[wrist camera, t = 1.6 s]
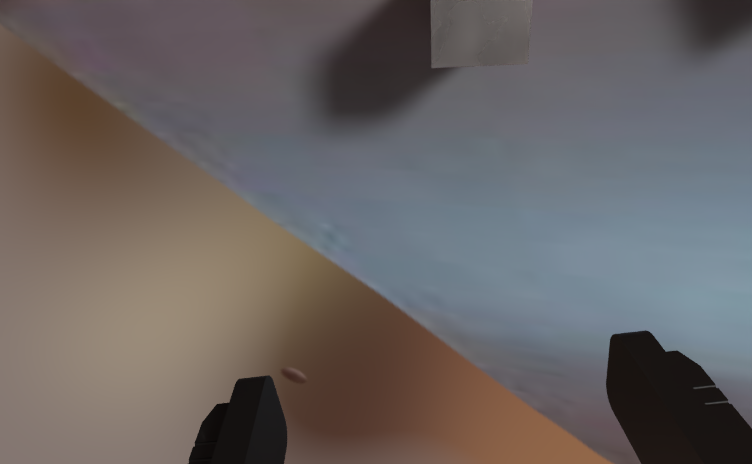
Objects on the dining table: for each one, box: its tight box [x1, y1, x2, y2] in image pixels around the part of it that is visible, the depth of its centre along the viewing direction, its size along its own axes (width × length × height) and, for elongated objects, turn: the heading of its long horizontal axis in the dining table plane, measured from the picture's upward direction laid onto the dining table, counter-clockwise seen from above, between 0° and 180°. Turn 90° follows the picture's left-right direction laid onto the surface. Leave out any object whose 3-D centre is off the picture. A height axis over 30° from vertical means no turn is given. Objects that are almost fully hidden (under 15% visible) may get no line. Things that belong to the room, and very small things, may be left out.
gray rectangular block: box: [431, 0, 533, 68], centre depth 28 cm, size 4×4×11 cm
